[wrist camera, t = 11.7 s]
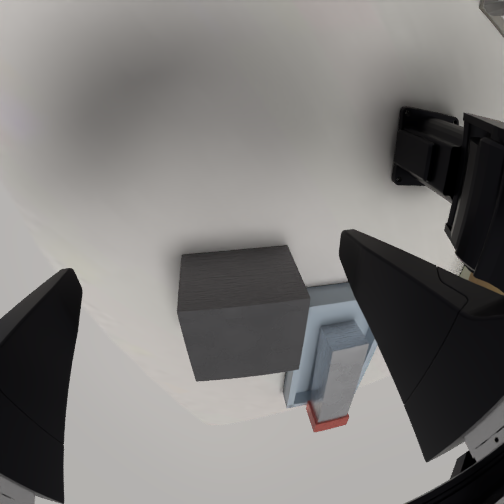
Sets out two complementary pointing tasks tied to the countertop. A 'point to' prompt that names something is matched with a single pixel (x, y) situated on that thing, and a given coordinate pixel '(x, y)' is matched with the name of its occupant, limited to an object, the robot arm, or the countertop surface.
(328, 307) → the tray
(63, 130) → the countertop surface
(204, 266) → the block
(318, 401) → the pin
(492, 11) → the skyscraper
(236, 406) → the countertop surface
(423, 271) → the robot arm
